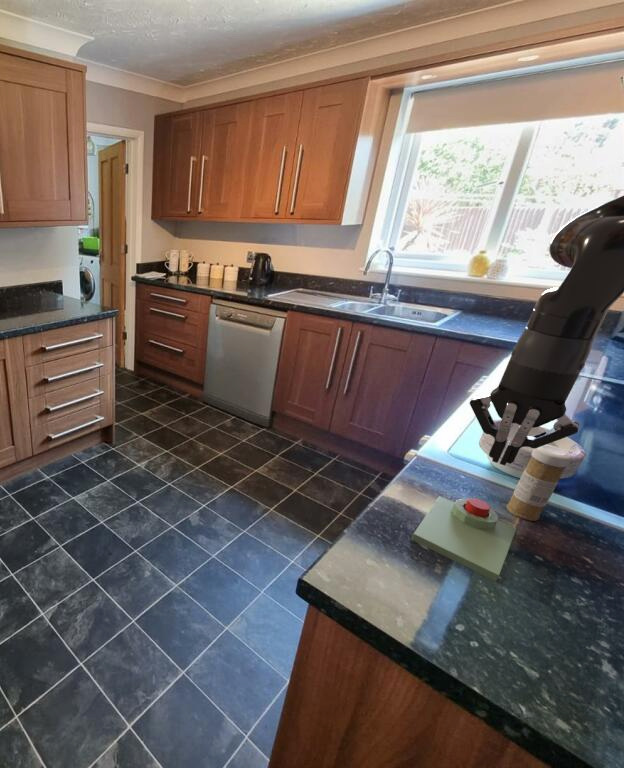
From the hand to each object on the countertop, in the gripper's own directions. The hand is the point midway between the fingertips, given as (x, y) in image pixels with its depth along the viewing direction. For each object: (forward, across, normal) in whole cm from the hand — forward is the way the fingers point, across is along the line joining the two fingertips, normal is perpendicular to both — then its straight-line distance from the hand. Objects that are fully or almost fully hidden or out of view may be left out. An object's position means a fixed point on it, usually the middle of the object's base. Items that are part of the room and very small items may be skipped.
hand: (499, 461), depth 69 cm
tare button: (+10, 0, 0) cm, 10 cm away
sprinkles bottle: (+13, -5, -11) cm, 18 cm away
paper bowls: (+13, -3, -29) cm, 32 cm away
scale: (+13, 0, +5) cm, 14 cm away
